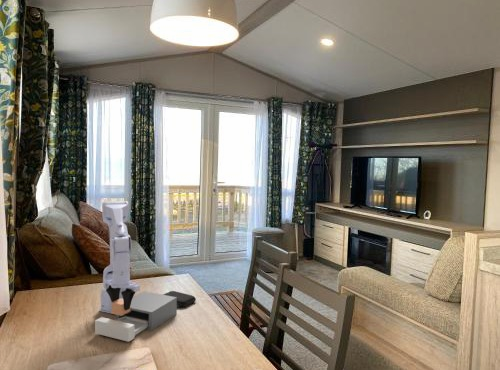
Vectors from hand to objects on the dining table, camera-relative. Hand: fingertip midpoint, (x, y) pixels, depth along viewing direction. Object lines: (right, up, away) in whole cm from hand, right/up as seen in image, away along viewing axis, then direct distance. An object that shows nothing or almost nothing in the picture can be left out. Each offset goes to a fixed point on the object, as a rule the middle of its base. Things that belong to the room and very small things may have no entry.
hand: (121, 308), depth 134 cm
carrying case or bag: (+14, -7, +29) cm, 33 cm away
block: (0, -2, 0) cm, 2 cm away
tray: (+1, -8, 0) cm, 8 cm away
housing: (+6, -8, +12) cm, 15 cm away
